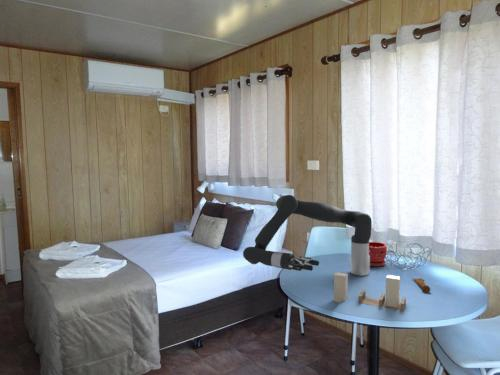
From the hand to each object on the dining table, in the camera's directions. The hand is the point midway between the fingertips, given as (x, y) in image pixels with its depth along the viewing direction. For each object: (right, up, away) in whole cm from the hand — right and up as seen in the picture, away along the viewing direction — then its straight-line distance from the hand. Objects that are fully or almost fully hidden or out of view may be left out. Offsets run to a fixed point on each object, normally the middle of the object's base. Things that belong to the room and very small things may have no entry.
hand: (315, 265), depth 161 cm
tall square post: (+30, -14, -12) cm, 35 cm away
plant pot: (+43, -10, +49) cm, 66 cm away
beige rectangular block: (+10, -15, -4) cm, 18 cm away
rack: (+26, -15, -10) cm, 32 cm away
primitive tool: (+54, -13, +15) cm, 58 cm away
